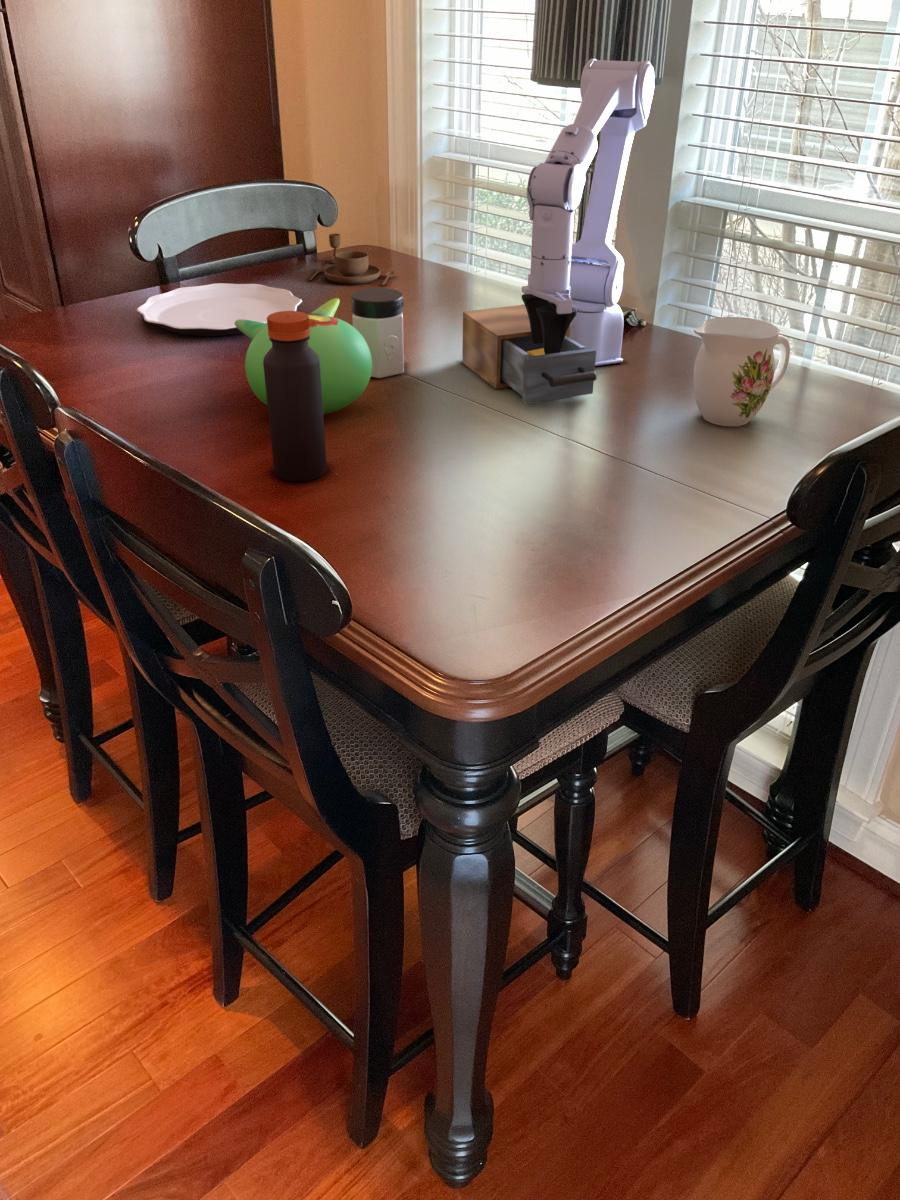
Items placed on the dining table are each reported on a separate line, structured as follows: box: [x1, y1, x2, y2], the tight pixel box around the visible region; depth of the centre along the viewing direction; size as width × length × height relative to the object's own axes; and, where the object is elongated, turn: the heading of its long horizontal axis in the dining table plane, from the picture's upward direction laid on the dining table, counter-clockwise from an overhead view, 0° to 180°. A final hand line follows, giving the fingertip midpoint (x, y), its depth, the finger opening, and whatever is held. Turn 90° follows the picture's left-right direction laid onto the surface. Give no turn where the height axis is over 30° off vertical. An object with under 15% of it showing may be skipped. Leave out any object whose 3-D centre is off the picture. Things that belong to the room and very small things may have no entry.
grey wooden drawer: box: [500, 335, 597, 405], centre depth 147 cm, size 16×11×7 cm
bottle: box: [263, 310, 328, 483], centre depth 120 cm, size 7×7×20 cm
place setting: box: [308, 233, 395, 286], centre depth 208 cm, size 18×20×6 cm
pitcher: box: [692, 316, 791, 427], centre depth 139 cm, size 11×18×14 cm, turn 117°
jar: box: [350, 287, 405, 379], centre depth 155 cm, size 9×8×12 cm
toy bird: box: [234, 297, 372, 416], centre depth 140 cm, size 18×17×15 cm
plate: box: [136, 282, 303, 337], centre depth 182 cm, size 29×29×2 cm
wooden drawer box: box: [461, 304, 570, 390], centre depth 156 cm, size 13×12×8 cm
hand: (545, 348), depth 147 cm, fingers open, 5 cm apart
